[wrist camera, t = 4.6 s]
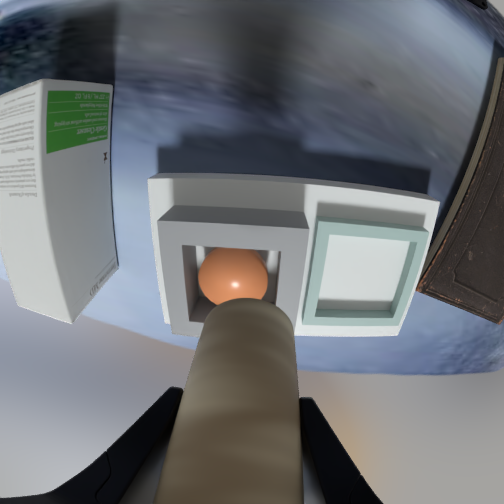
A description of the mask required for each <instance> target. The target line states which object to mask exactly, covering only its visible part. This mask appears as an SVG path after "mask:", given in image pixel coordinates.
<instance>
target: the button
mask: <svg viewBox="0 0 504 504" xmlns="http://www.w3.org/2000/svg"><path fill="white" fill-rule="evenodd" d="M198 279H199V285H200V287H201V290H202V291H203V293H204V294H205V296H206V297H207V298H208V299H209V300H210V301H212V302H213V303H215V304H216V305H219V304H221V303H223V302H225V301H228V300H231V299H236V298H256V299H260V300H261V299H262V297H263V296H264V294H265V292H266V290H267V285H268V269H267V265H266V263H265V261H264V259H263V258H262V257H261V255H260V254H259V253H258V252H256V251H255V250H254V249H239V248H224V247H215V248H214V249H212V250H211V251H210V252H209V253H208V254H207V255H206V257H205V259H204V261H203V263H202V265H201V267H200V270H199V275H198Z"/></svg>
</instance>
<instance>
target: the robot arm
mask: <svg viewBox="0 0 504 504" xmlns="http://www.w3.org/2000/svg"><path fill="white" fill-rule="evenodd" d="M467 1H469V2H471V3H473V4H474V5H476V6H478V7H479V8H481V9H483V10H485V9H487V8H488V6H487V2H486V0H467ZM183 392H184V391H183V389H182V388H179V387H170V388H169V389H168V390H167V391H166V392H165V393H164V394H163V395H162V396H161V397H160V398H159V399H158V400H157V401H156V402H155V403H154V404H153V405H152V406H151V407H150V408H149V409H148V410H147V411H146V412H145V413H144V414H143V415H142V416H141V417H140V418H139V419H138V420H137V421H136V422H135V423H134V424H133V425H132V426H131V427H130V428H129V429H128V430H127V431H126V432H125V433H124V434H123V435H122V436H120V438H118V439H117V440H116V441H115V442H114V443H113V444H112V445H111V446H110V447H109V448H108V449H107V451H105V452H104V453H103V454H102V455H101V456H100V457H98V458H97V459H96V460H95V461H94V462H93V463H92V464H90V465H89V466H88V467H87V468H85V469H84V470H83V471H81V472H80V473H79V474H77V475H76V476H74V477H73V478H71V479H70V480H68V481H67V482H65V483H64V484H62V485H61V486H59V487H58V488H56V489H54V490H52V491H50V492H47V493H44V494H39V495H31V496H23V497H11V498H0V504H153V502H154V498H155V494H156V490H157V486H158V482H159V479H160V475H161V471H162V467H163V463H164V460H165V456H166V452H167V449H168V445H169V441H170V438H171V434H172V430H173V427H174V423H175V420H176V416H177V413H178V409H179V406H180V402H181V399H182V395H183ZM299 405H300V421H301V438H302V458H303V483H304V504H383V503H382V502H381V500H380V499H379V498H378V497H377V496H376V494H375V493H374V492H373V491H372V489H371V488H370V486H369V485H368V484H367V482H366V481H365V479H364V477H363V476H362V475H360V474H361V473H360V472H359V470H358V469H357V467H356V466H355V464H354V462H353V461H352V460H351V458H350V456H349V455H348V453H347V452H346V450H345V449H344V447H343V446H342V444H341V442H340V441H339V439H338V438H337V436H336V435H335V433H334V431H333V430H332V428H331V427H330V425H329V424H328V422H327V420H326V419H325V417H324V416H323V414H322V412H321V411H320V409H319V408H318V406H317V405H316V403H315V401H314V400H313V398H311V397H301V398H299Z"/></svg>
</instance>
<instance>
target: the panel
mask: <svg viewBox="0 0 504 504" xmlns="http://www.w3.org/2000/svg"><path fill="white" fill-rule="evenodd" d="M148 194H149V207H150V218H151V229H152V238H153V247H154V255H155V263H156V270H157V277H158V284H159V291H160V297H161V303H162V309H163V314H164V320H165V323H166V324H171V330H172V334H176V335H183V336H191V337H199V338H200V335H201V332H202V329H203V325H204V322H205V319H206V317H207V316H208V314H209V313H210V312H211V310H212V309H214V308H215V307H216V306H218V305H216V304H215V303H213V302H212V301H210V300H209V299H208V298H207V297H206V296H205V294H204V293H203V291H202V290H201V287H200V285H199V279H198V275H199V270H200V267H201V265H202V263H203V261H204V259H205V257H206V255H207V254H208V253H209V252H210V251H211V250H212V249H214V248H215V247H224V248H239V249H254V250H255V251H256V252H258V253H259V254H260V255H261V257H262V258H263V259H264V261H265V263H266V265H267V269H268V285H267V290H266V292H265V294H264V296H263V297H262V299H261V300H264V301H267V302H270V303H272V304H274V305H275V306H277V307H279V308H280V309H281V310H282V311H284V312H285V314H286V315H287V316H288V317H289V319H290V320H291V323H292V325H293V329H294V335H299V336H339V337H363V336H397V335H398V333H399V331H400V328H401V326H402V323H403V321H404V318H405V316H406V313H407V311H408V308H409V306H410V303H411V300H412V298H413V295H414V292H415V289H416V286H417V284H418V281H419V278H420V275H421V272H422V268H423V265H424V262H425V259H426V255H427V252H428V248H429V245H430V241H431V237H432V234H433V230H434V226H435V221H436V217H437V213H438V208H439V204H440V202H439V201H437V200H436V199H434V198H432V197H431V196H429V195H427V194H422V193H416V192H411V191H405V190H399V189H392V188H385V187H379V186H371V185H364V184H356V183H348V182H339V181H330V180H320V179H310V178H298V177H285V176H270V175H252V174H226V173H158V174H156V175H154V176H152V177H150V178H148Z"/></svg>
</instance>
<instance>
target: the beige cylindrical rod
mask: <svg viewBox="0 0 504 504" xmlns="http://www.w3.org/2000/svg"><path fill="white" fill-rule="evenodd" d="M153 504H304V483H303V458H302V438H301V421H300V405H299V390H298V376H297V364H296V352H295V340H294V329H293V325H292V323H291V320H290V319H289V317H288V316H287V315H286V314H285V312H284V311H282V310H281V309H280V308H279V307H277V306H275V305H274V304H272V303H270V302H267V301H264V300H260V299H256V298H236V299H231V300H228V301H225V302H223V303H221V304H219V305H218V306H216V307H215V308H214V309H212V310H211V312H210V313H209V314H208V316H207V317H206V319H205V322H204V325H203V329H202V332H201V335H200V338H199V342H198V345H197V348H196V351H195V355H194V358H193V361H192V365H191V368H190V371H189V375H188V378H187V382H186V385H185V388H184V392H183V395H182V399H181V402H180V406H179V409H178V413H177V416H176V420H175V423H174V427H173V430H172V434H171V438H170V441H169V445H168V449H167V452H166V456H165V460H164V463H163V467H162V471H161V475H160V479H159V482H158V486H157V490H156V494H155V498H154V502H153Z"/></svg>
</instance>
